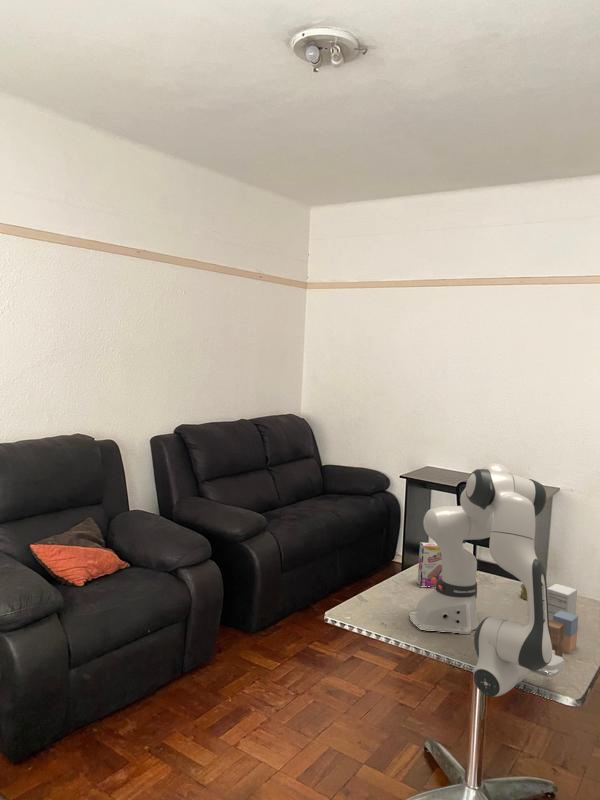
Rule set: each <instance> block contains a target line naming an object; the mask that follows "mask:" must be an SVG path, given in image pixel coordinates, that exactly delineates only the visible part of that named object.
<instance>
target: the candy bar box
mask: <svg viewBox="0 0 600 800" xmlns="http://www.w3.org/2000/svg"><path fill="white" fill-rule="evenodd" d="M433 577H435V578H436V579H437V580H439V579H440V578H441V577H442V556H441V552H440V549H439V547H438V545H437V544H436V542H419V552H418V570H417V584H418V583H419V585H420V586H427V587H428V586H430V587H436V585H434V584H433V583H432V582H431V579H432V578H433ZM419 585H418V586H419ZM420 586H419V587H420Z"/></svg>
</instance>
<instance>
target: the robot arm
mask: <svg viewBox="0 0 600 800" xmlns="http://www.w3.org/2000/svg"><path fill="white" fill-rule="evenodd" d="M469 474H470V475H469V476H468V478H467V481H466V484H465V487H464V489H463V490H462V491H461V494H460V497H459V503H460V505H445V506H444V505H443V506H442V505H441V506H438V507H434V508H430V509H428V510H427V511H426V513H425V515H424V516H423V521H422V522H423V529H424V532H425V533H426V535H427V536H428V537H429V538H430V539H432V541H434V543H436V544H437V545H438V547H439V549H440V552H441V556H442V577H441V578H440V579H439V580H437V579H436V578H435V577H433V578H432V579H431V582H432V583H433V584H434V585H436V588H434V589H433V590H431V591H430V592H428V594H426V595H424V596H422V597H421V598H419V600H418V602H417V605H416V611H410V612H409V616H410V618H411V620H412V621H413V622H414V623H415V625H417V626H418V627H419V628H422V629H425V630H434V631H445V632H452V633H451V634H455V633H459V635H469V634H471V633H472V632H473V631H474V630H475V631H474V636H473V644H474V645H473V646H474V650H475V653H476V657H477V662H476V666H475V668H474V670H473V673H472V674H473V675H472V678H473V683H474V684H475V687H476V688H477V689H478V690H479V691H480V692H481V693H482V694H484V695H486V696H489V697H493V698H494V697H500V696H503V695H505V694H507V693H508V692H510V691H511V690H512V689H514V688H515V687H516V685H517V684H519V683H521V682H522V681H524V680H525V679H526V678H527V677H528V676H530V675H531V673H534V674H537V675H539V676H543V677H545V678H555V677H558V676H559V675H561V674H563V673H564V671H565V667H566V666H565V665H566V663H565V662H566V661H565V659H564V657H560V656H557V655H555V650H552V641H551V635H550V629H549V615H548V598H547V588H548V586H547V577H546V571H545V567H544V564H543V563H542V562H541V561H540V560H539V559H538V557H537V555H536V551H535V538H536V536H535V535H536V517H537V516H539V515H540V514H541V513H542V512H543V510H544V508H545V506H546V503H547V491H546V489H545V487H544V485H543V484H542V483H541V482H539V481H537V480H534V479H531V478H526V477H523V476H519V475H517V474H513V473H511V471H510V470H509V469H508V467H506V466H505V465H503V464H501V463H499V462H498V463H497V462H492V463H488V464H486V465H485V466H484V467H482V468H477V469H475V470H473V471H472V472H471V473H469ZM488 538H489V547H488V548H489V549H488V550H489V554H490V556H491V559H492V560H493V561H494V562H495V563H496V564H497V566H498V567H500V568H501V569H503V570H504V571H506V572H508V573H509V574H510V575H512V576H513V577H515V578H517V579H518V580H519V581H520V582H521V583H522V584H524V586H525V588H526V591H527V600H526V601H527V618H528V621H527V624H523V623H518V622H516V621H515V622H514V621H511V620H510V621H509V620H508V619H503V618H498V617H493V616H488V617H486V618H484V619H483V620H482V621H481V622H480V623H479V618H478V612H477V601H476V600H477V595H478V581H477V572H478V571H477V569H478V561H477V558H476V556H475V555H474V554H473V553H472V552H471V551H469V550H467V549H465V548H464V545H463V543H464V541H468V540H470V541H471V540H473V541H474V540H484V539H488ZM410 614H411V615H414V616H411V615H410ZM419 625H421V626H419Z"/></svg>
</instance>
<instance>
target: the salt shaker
mask: <svg viewBox="0 0 600 800" xmlns="http://www.w3.org/2000/svg"><path fill="white" fill-rule="evenodd" d="M520 588H521V589H520V597H521V598H522V599H523V600H525V601H527V591H526V588H525V586H524V584H523V583H522V584H521V585H520Z"/></svg>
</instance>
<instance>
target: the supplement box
mask: <svg viewBox="0 0 600 800" xmlns="http://www.w3.org/2000/svg"><path fill="white" fill-rule="evenodd" d="M577 595H578V589H576V588H573V587H570V586H565V585H562V584H558V583H555V584H553V585H551V586H550V587H547V598H548V615H549V620H553V615H555V614H556V613H557V612H559V611H563V612H566V613H570V614H573V615H576V613H577V612H576V611H577V597H578V596H577Z"/></svg>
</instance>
